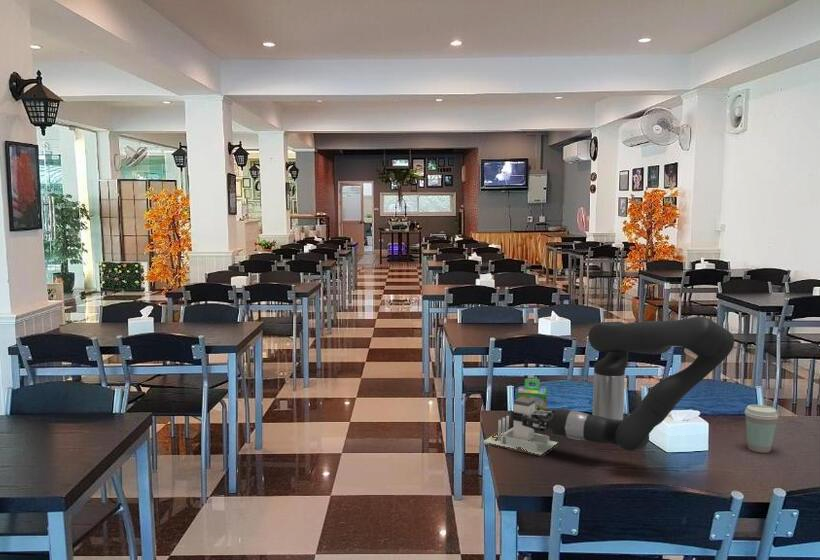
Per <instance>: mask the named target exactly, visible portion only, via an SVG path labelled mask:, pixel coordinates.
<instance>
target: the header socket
mask: <svg viewBox="0 0 820 560" xmlns="http://www.w3.org/2000/svg"><path fill="white" fill-rule="evenodd" d="M497 422H498V424H497V425H498V426H497V429H498V430H497V433H498V436H497V435H496V436H494V437H498V440H497V441H495V439H496V438H492V436H493V435H492V436H490V437H488V438H486V439H484V440H483V441H482V444H483V445H487V444H489V443H491V444H496V445H500V446H505V447H510V448H514V449H517V448H518V447H521V449H522V448H523V449H524V450H525V449H526V450H527V451H528V452H531V453H535V454H539V455H541V454H543V453H544V452H546V451H547V450H548V449H550V448H552V447H553V446H554V445H556V444H557V443H558V444H559V442H558V441H553V440H550V436H549V435H546V434H542V433H536V432H534V437H533V438H532V439H530V440H529V441H527V440H522V439H517V438H513V427H511V428H510V416H509V415H506V417H502V418H501V419H498V421H497ZM509 428H510V429H509ZM501 431H502V433H501ZM505 431H506V432H505ZM501 435H502V436H501ZM487 446H488V445H487ZM516 447H517V448H516ZM523 449H522V450H523ZM526 450H525V451H526Z"/></svg>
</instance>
